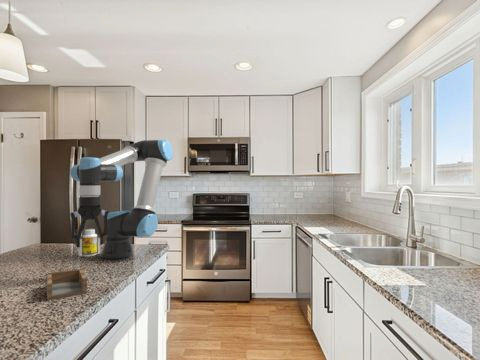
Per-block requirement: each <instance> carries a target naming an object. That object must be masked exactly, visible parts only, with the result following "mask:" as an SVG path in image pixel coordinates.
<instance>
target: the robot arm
mask: <svg viewBox="0 0 480 360" xmlns="http://www.w3.org/2000/svg"><path fill="white" fill-rule="evenodd" d="M173 153H174V151H173V147H172V144H171V142H169V141H168V140H167V139H149V140H146V139H145V140H140V141H137V142H133V143H130V144H129V145H126V146H124V147H123V148H122V149H120V150H118V151H116V152H112V153H110V154H108V155H105V156H102V157H100V158H99V157H89V156H88V157H87V156H86V157H81V158H80V159H79V164H74V165H73V166H72V167H71V169H70V172H69V173H70V176H71V179H73V180H74V181H76V182H79V183H78V184H79V185H78V187H79V189H78V194H79V198H78V208H77V210H76V211H71V212H69V215H70V218H71V221H70V223H71V224H70V238H71V239H74V240H75V246H76V247H75V248H77V249H78V255H79V257H83V256H82V235H83V232H84V229H85V228H84V227H85V224H86V222H87V221H89V220H93V221H94V224H95V227H96V230H97V235H98V238H97V255H99V254H101V256H100V257H101V259H106V260H116V259H117V260H119V259H125V258H129V257H132V256H133V255H134V249H133V245H132V242H131V237H132V238H134V237H135V238H149V237H152V236H153V235H154V234H155V232H156V231H157V228H158V227H159V226H158V225H159V221H158V216H157V215H156V210H155V209H154V207H155V202H156V199H157V195H158V190H159V186H160V180H161V175H162V172H163V168H165V167H166V166H167V162H169V161H171V160H172V159H173V156H174V155H173ZM136 162H145V163H146V166H145V169H144V172H143V177H142V182H141V185H140V188H139V189H140V190H139V194H138V196H137V197H138V198H137V201H136V205H135V206H134V207H132V209H131V210H130V209H129V210H120V211H111V212H110V211H108V210H104V209H102V208H101V182H113V183H114V182H118V181H120V180H121V179H122V178H123V175H124V171H123V170H124V169H123V167H122V166H125V165H127V164H133V163H136ZM100 214H101V216H102V224H103V225H102V227H103V231H102V228H101V225H100V222H99V218H98V217H99V216H100ZM78 215H79V216H80V217H81V219H80V223H79V227H78V229H77V233H76V225H77V224H76V218H77V217H78ZM104 237H105V240H104ZM104 241H105V242H104ZM103 244H104V245H103ZM101 245H103V247H102V251H101Z"/></svg>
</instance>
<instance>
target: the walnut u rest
mask: <svg viewBox="0 0 480 360" xmlns="http://www.w3.org/2000/svg"><path fill="white" fill-rule="evenodd" d="M46 275H47V276H46V299H47V301H53V300H58V299H63V298H69V297H74V296H78V295H86V294H87V293H88V290H87V289H88V278H87V276H86V273H85V271H84V269H83V268H78V269H70V270H62V271H55V272H48V273H46Z"/></svg>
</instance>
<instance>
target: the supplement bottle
mask: <svg viewBox="0 0 480 360" xmlns="http://www.w3.org/2000/svg"><path fill="white" fill-rule="evenodd" d="M98 236H99V234H98V233H96V229H95V228H86V229H85V228H84V229H83V233H82V234H81V238H82V256H81V257H93V256H95V255H98V253H97V238H98Z"/></svg>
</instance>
